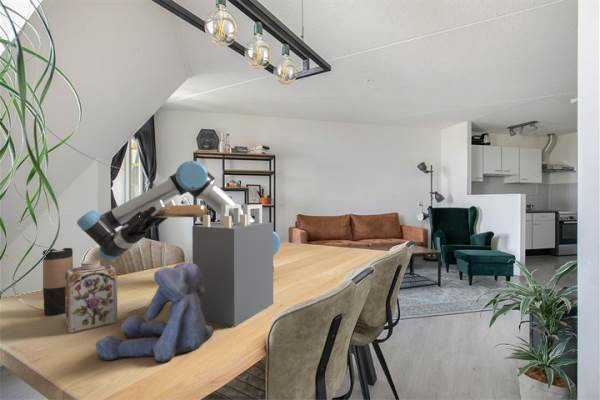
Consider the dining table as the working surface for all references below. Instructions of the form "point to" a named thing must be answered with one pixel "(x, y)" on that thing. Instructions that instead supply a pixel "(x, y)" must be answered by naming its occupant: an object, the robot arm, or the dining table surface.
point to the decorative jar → (90, 296)
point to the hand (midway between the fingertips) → (167, 203)
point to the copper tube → (180, 211)
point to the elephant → (160, 335)
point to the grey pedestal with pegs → (234, 265)
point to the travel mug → (55, 280)
